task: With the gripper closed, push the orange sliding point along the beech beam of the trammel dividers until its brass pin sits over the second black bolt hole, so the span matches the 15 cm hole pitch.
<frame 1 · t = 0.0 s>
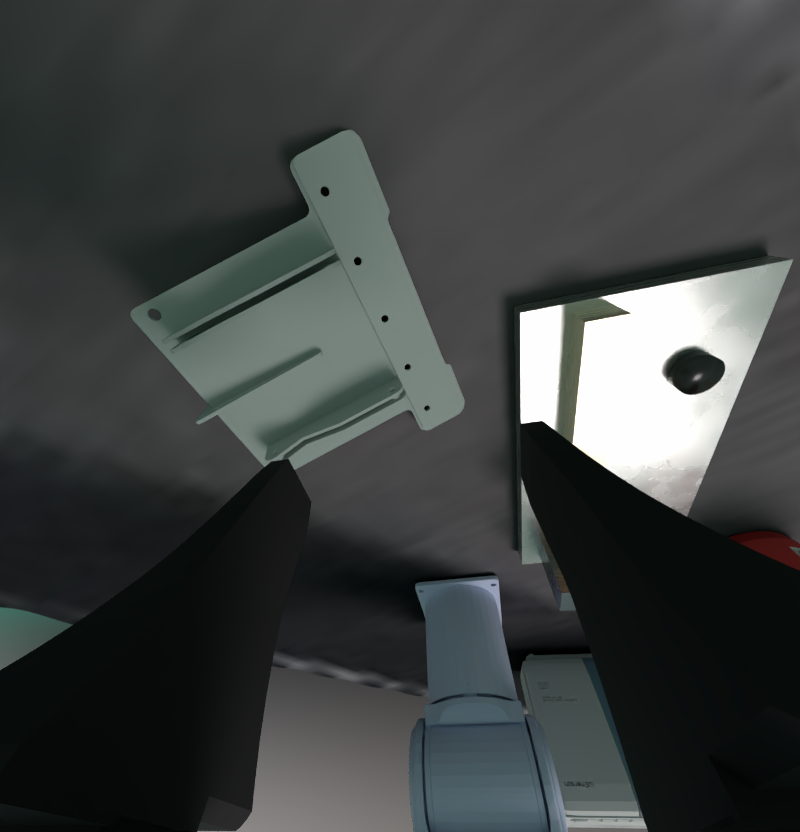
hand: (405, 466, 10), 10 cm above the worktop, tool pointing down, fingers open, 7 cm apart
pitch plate: (605, 448, 22), on the worktop
metal bracket: (321, 339, 19), on the worktop
stereo radio cassette player: (599, 657, 42), on the worktop
canned food: (736, 553, 29), on the worktop
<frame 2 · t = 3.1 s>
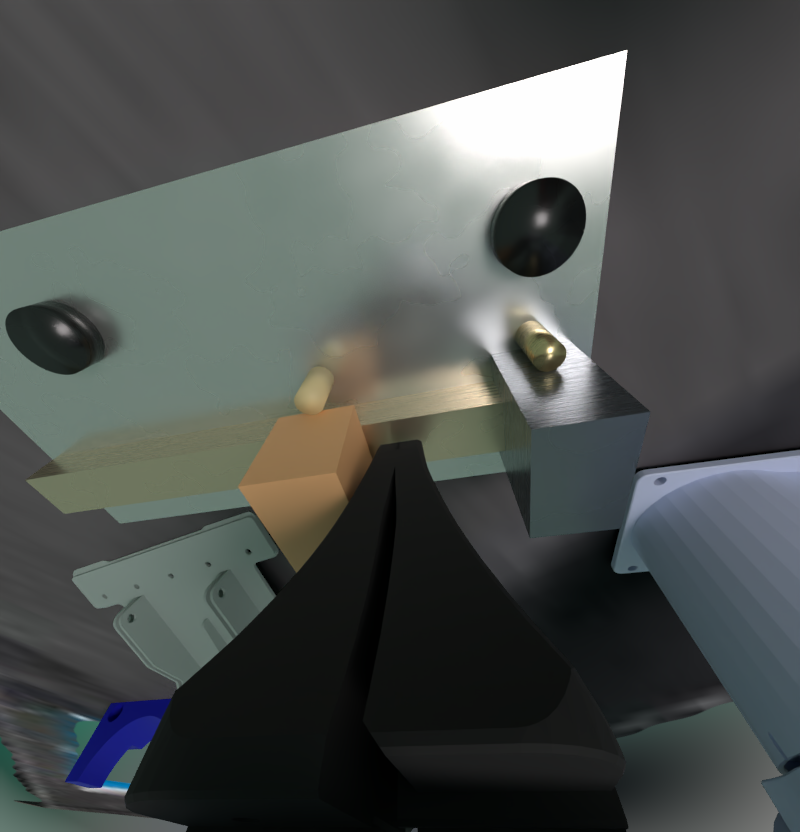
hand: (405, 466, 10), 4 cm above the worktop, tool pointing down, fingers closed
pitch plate: (282, 367, 13), on the worktop
metal bracket: (229, 586, 23), on the worktop
cable clip: (172, 702, 36), on the worktop
sliding point: (326, 464, 10), point 4 cm above the worktop, slide at 0.6 cm, touching gripper
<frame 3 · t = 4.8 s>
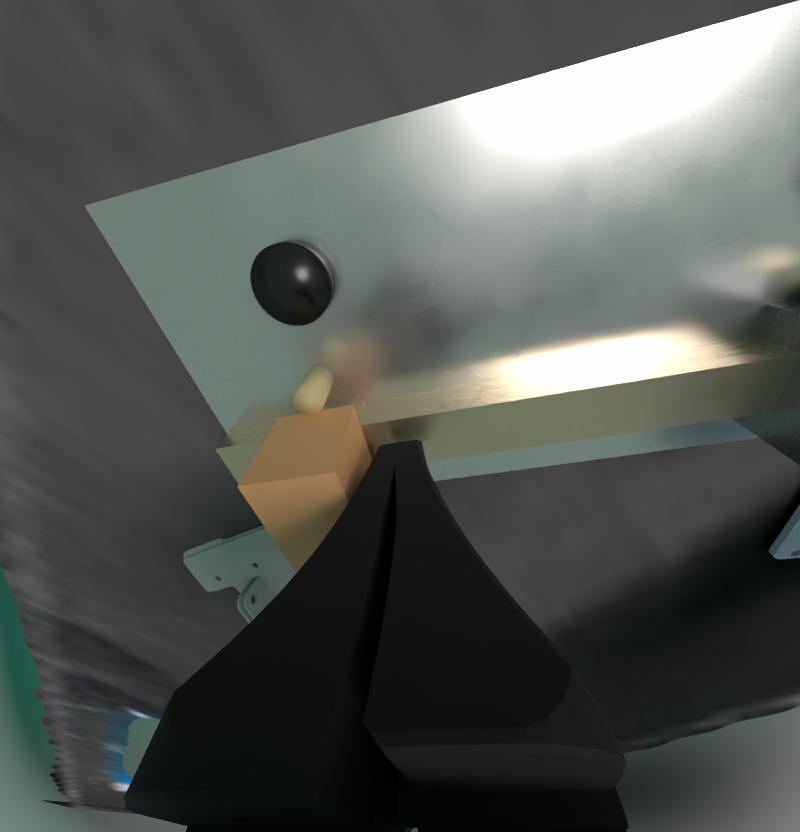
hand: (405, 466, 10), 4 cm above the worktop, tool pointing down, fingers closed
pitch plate: (496, 325, 12), on the worktop
metal bracket: (342, 565, 21), on the worktop
sliding point: (326, 464, 10), point 4 cm above the worktop, slide at 8.8 cm, touching gripper
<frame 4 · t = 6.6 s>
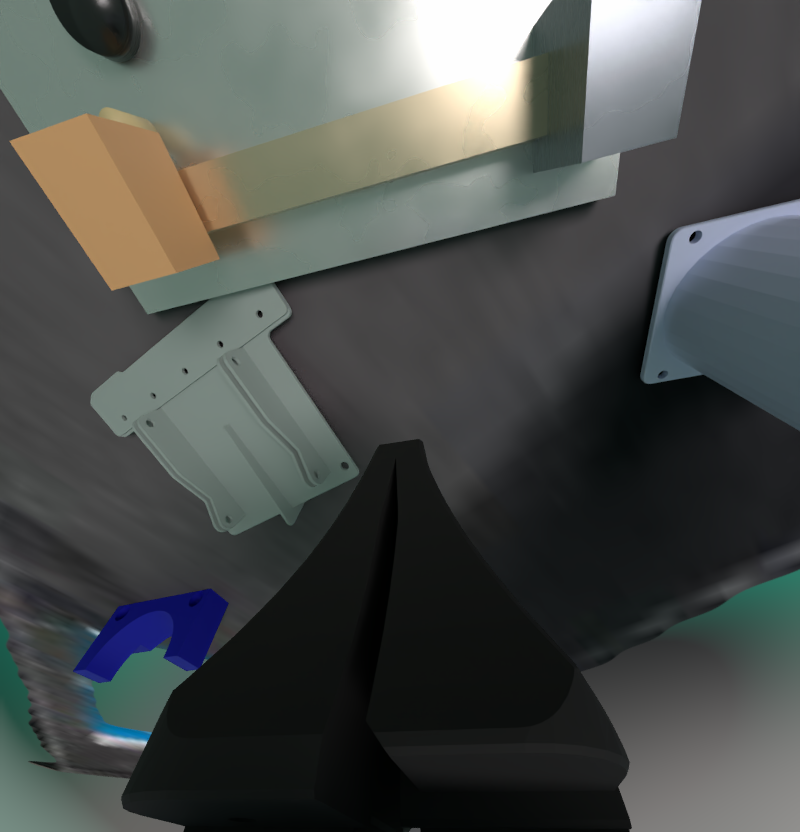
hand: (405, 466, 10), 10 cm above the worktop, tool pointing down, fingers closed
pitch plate: (315, 90, 13), on the worktop
metal bracket: (251, 410, 22), on the worktop
cable clip: (179, 604, 36), on the worktop
sliding point: (140, 196, 11), point 4 cm above the worktop, slide at 8.9 cm
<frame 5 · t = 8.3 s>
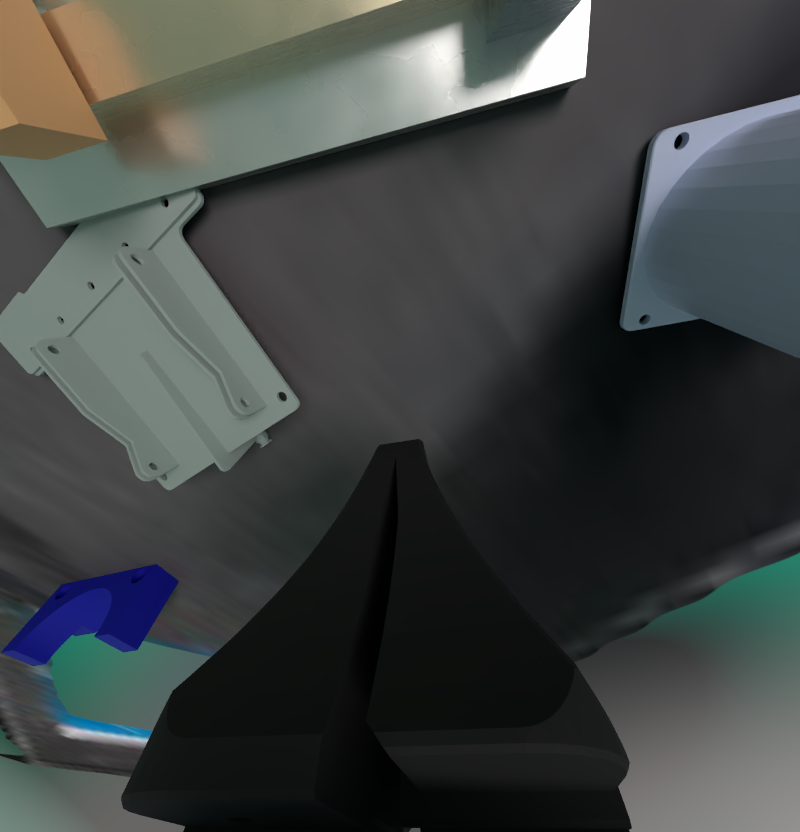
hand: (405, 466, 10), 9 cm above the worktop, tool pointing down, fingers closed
metal bracket: (183, 344, 19), on the worktop
cable clip: (127, 583, 33), on the worktop
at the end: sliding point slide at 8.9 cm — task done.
